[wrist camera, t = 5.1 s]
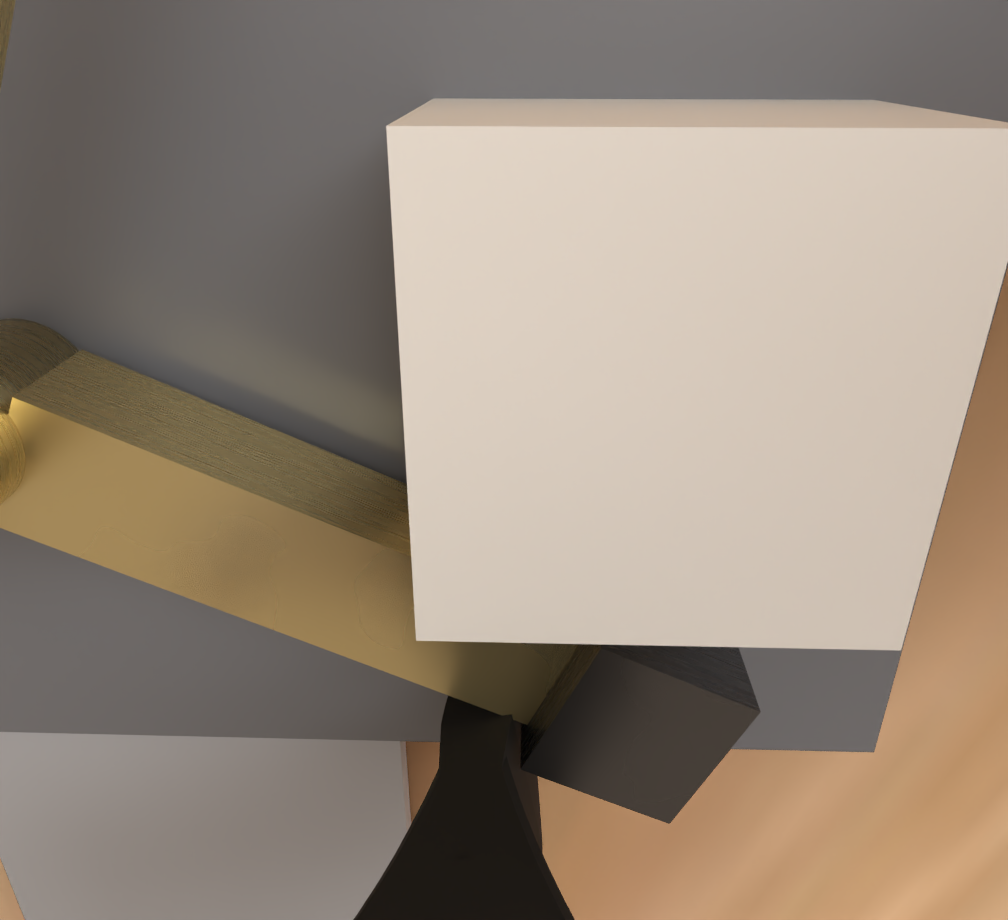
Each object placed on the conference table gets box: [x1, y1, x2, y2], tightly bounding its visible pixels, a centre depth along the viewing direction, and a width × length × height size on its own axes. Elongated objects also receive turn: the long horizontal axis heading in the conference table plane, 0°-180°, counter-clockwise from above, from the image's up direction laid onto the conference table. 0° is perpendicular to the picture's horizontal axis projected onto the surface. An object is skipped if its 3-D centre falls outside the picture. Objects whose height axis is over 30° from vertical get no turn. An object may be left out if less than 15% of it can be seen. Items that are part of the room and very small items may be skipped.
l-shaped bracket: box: [0, 0, 761, 824], centre depth 8 cm, size 10×11×4 cm
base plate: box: [0, 0, 1008, 752], centre depth 12 cm, size 16×12×1 cm
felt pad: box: [0, 732, 411, 920], centre depth 17 cm, size 8×8×1 cm
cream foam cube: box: [386, 98, 1008, 650], centre depth 9 cm, size 5×5×4 cm
